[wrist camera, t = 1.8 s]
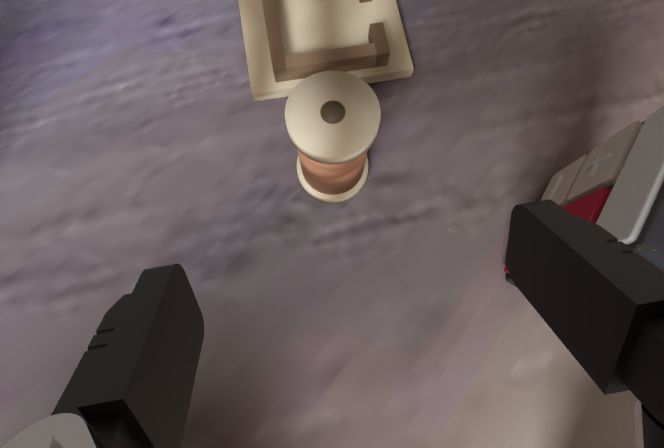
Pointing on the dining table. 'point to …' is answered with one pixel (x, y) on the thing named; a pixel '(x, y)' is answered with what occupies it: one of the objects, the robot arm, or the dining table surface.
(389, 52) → the board
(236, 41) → the dining table surface
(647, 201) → the calculator
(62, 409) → the robot arm
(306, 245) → the dining table surface
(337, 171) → the bobbin
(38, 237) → the dining table surface
